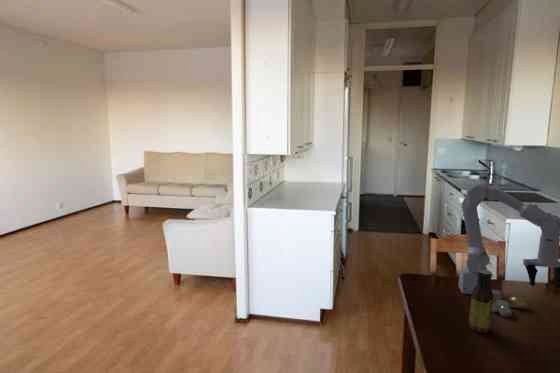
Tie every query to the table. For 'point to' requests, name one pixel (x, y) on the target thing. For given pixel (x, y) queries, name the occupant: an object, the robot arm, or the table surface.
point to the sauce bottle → (481, 303)
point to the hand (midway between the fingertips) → (543, 285)
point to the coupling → (518, 302)
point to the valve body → (500, 304)
